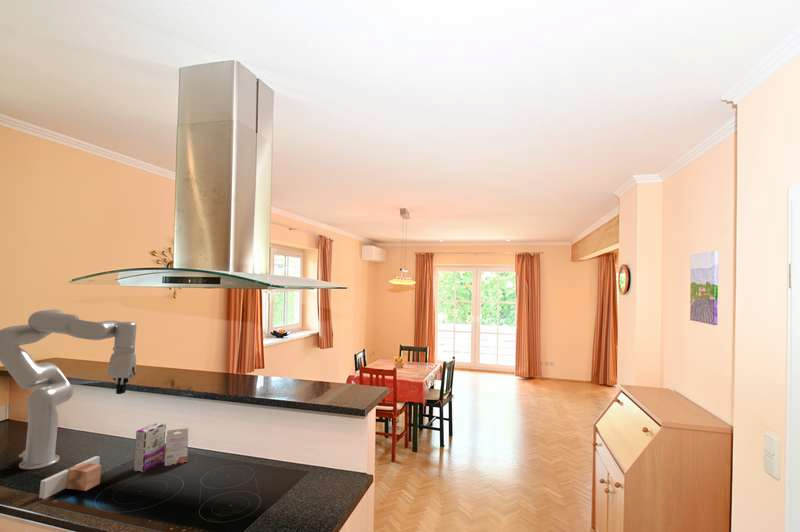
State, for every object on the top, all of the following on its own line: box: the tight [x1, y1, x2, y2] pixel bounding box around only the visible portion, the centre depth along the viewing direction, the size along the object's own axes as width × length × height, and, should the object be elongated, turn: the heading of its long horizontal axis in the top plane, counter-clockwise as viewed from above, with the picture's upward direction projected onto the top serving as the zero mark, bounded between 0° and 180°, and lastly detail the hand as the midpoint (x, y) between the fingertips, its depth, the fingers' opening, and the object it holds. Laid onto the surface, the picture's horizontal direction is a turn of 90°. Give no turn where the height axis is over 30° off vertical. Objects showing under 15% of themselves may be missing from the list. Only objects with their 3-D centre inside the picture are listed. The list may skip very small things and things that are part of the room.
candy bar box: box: [133, 422, 167, 473], centre depth 171 cm, size 11×5×16 cm, turn 168°
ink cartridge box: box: [164, 427, 189, 467], centre depth 176 cm, size 9×5×15 cm, turn 117°
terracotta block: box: [66, 462, 102, 492], centre depth 153 cm, size 8×6×7 cm
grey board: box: [38, 455, 101, 500], centre depth 154 cm, size 2×22×6 cm, turn 172°
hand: (120, 393), depth 175 cm, fingers closed
